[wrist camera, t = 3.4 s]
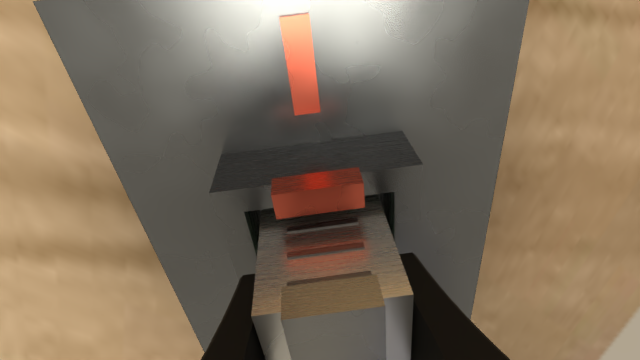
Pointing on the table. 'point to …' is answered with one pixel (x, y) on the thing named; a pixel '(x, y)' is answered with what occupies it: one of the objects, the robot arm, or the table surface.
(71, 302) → the table surface
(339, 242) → the grey block
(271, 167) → the stand
